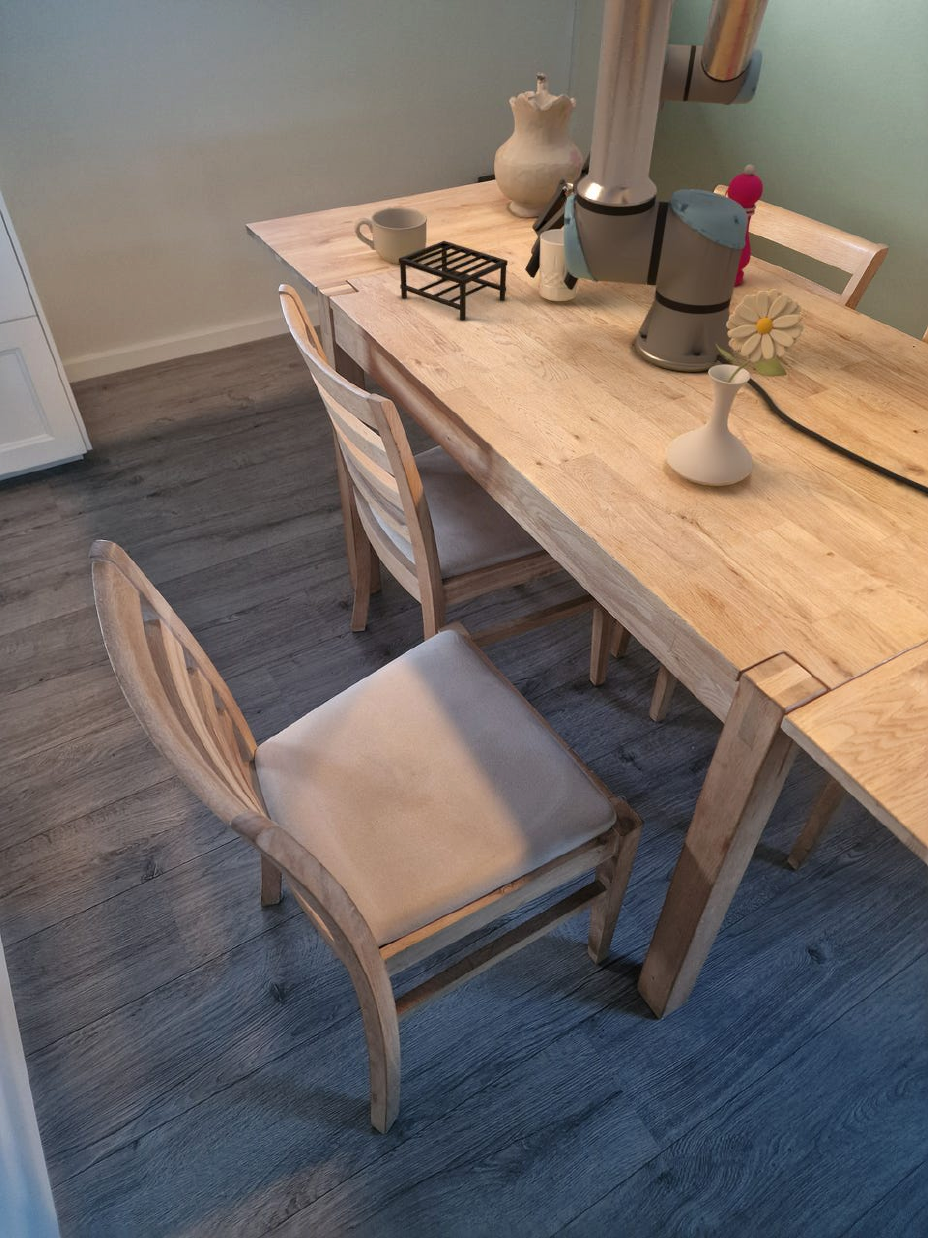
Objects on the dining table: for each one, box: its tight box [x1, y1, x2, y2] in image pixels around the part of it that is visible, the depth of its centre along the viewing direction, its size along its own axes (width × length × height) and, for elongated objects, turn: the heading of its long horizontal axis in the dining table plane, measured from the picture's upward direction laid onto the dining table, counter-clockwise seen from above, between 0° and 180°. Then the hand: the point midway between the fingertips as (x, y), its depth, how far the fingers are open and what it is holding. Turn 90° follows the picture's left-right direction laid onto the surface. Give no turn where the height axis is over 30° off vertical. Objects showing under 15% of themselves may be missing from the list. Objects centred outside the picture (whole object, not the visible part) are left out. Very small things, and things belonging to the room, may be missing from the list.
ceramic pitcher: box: [493, 71, 584, 218], centre depth 181 cm, size 22×20×25 cm
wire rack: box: [399, 240, 508, 321], centre depth 149 cm, size 15×12×7 cm
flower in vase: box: [664, 288, 805, 487], centre depth 102 cm, size 13×11×25 cm
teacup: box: [354, 206, 428, 265], centre depth 163 cm, size 14×11×8 cm
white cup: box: [538, 228, 581, 302], centre depth 148 cm, size 8×8×10 cm
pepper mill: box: [726, 164, 764, 287], centre depth 152 cm, size 7×7×20 cm
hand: (548, 279), depth 147 cm, fingers closed on white cup, 8 cm apart
